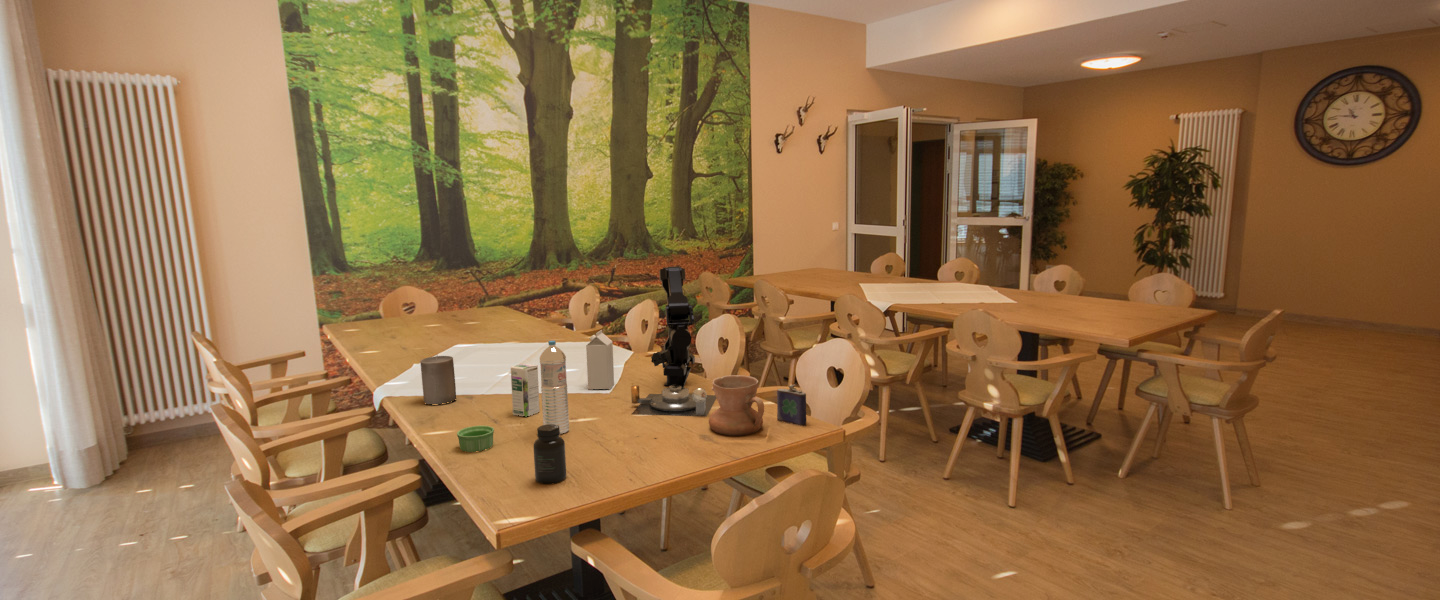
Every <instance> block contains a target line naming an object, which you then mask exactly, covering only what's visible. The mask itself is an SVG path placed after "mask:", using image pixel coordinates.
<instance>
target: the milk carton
mask: <svg viewBox="0 0 1440 600" xmlns="http://www.w3.org/2000/svg"><path fill="white" fill-rule="evenodd" d="M589 340H590V342H589V343H587V344H586V346H585V347H586V350H585V351H586V367H587V369H586V370H587V371H586V372H587V373H586V374H587V389H588V390H593V389H609V390H610V389H612V387H613V386H614V385H615V376H614V375H615V374H614V373H615V372H614V369H615V368H614V348H613V347H614V346H613V345H614V344H613V343H614V342H613V340H611V338H609V337H608V336H607V335H606V334H604V332H603V329H600V330H599V331H597V332H596V333H595V334H593V335H591V336H590V337H589Z"/></svg>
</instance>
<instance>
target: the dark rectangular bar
mask: <svg viewBox="0 0 1440 600" xmlns="http://www.w3.org/2000/svg"><path fill="white" fill-rule="evenodd" d="M691 394H692V398H693V400H694V401H695V402H696V415H703V416H704V415H705V414H706V400H705V399H706V397H707V395H708V394H707V391H706V389H705V388H701V387H698V388H695V389H694V390H693V391H692V393H691Z"/></svg>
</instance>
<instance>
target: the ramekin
mask: <svg viewBox="0 0 1440 600" xmlns="http://www.w3.org/2000/svg"><path fill="white" fill-rule="evenodd" d="M494 433H495V428H494V427H492V426H489V425H473V426H467V427H464V428H461V429H459V430H458V431H457V432H456V436H457V438H458V444H459V450H461V451H462V452H464V451H466V453H477V452H476V451H479V452H483V451H482V450H484V451H486V450H485V449H487V450H489V449H491V448H492V447H493V446H492V445H494ZM490 447H491V448H490ZM488 448H489V449H488Z"/></svg>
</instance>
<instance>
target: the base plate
mask: <svg viewBox="0 0 1440 600" xmlns="http://www.w3.org/2000/svg"><path fill="white" fill-rule="evenodd" d="M659 395H662V393H649V394H648V395H647V396H646V397H645V398H653V397H656V396H659ZM705 400H706V414H705V415H704V416H703V415H696V408H695V409H691V410H686V411H662V410H657V409H654V408H652V407H651V406H650V404H644V403H639V405H638V406H637V407H636V408H635V409H634V410H633V411H632V413H630V415H636V416H665V417H666V416H672V417H673V416H674V417H708V415H709V413H710V412H711V410H712V407H713V406H714V404H715V402H716V401H717V398H716V396H715V394H707V397H706V399H705Z"/></svg>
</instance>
